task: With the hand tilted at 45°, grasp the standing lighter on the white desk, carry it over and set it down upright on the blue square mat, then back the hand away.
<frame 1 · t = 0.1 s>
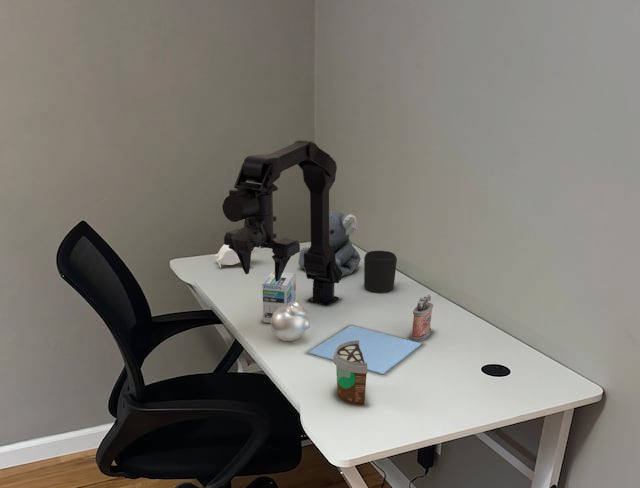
hand: (262, 277, 169), 15 cm above the table, tool pointing down, fingers open, 9 cm apart
blue square mat: (365, 348, 168), on the table
light bulb box: (279, 317, 186), on the table
silver rounded lump: (290, 340, 172), on the table
koala plush: (333, 270, 222), on the table
lighter: (420, 336, 176), on the table
pen holder: (378, 288, 207), on the table
white turtle figurine: (238, 264, 225), on the table
food container: (346, 395, 147), on the table
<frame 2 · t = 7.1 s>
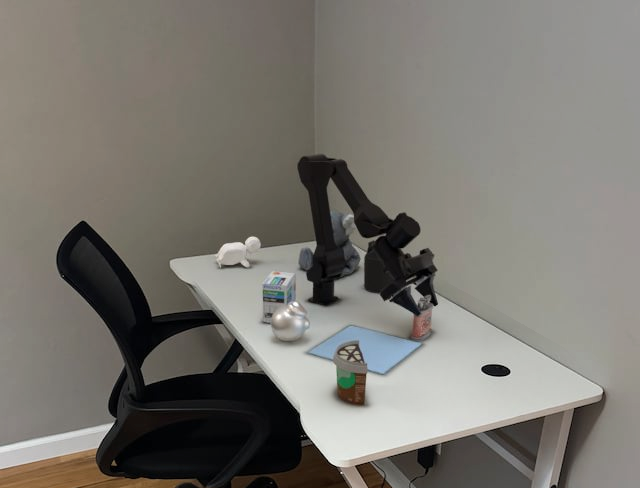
hand: (428, 310, 172), 7 cm above the table, tool tilted 45°, fingers closed on lighter, 8 cm apart
lighter: (420, 336, 176), on the table, touching gripper
everything else where it was.
when the fingers open (7 cm above the table, at t = 14.3 s): lighter stays where it is, resting on blue square mat.
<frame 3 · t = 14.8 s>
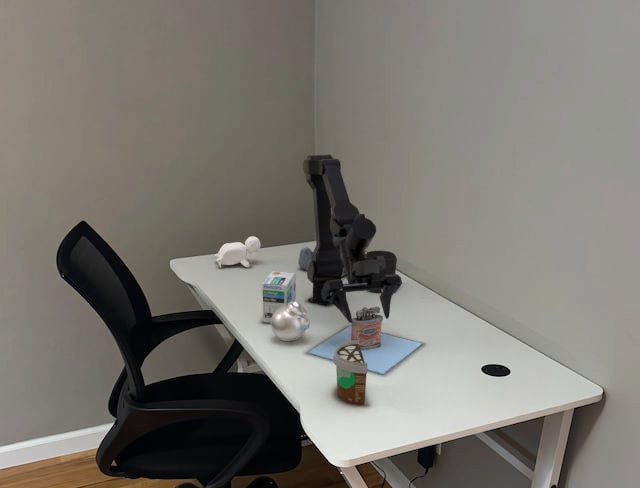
hand: (369, 320, 163), 8 cm above the table, tool tilted 45°, fingers open, 9 cm apart
lighter: (365, 347, 168), resting on blue square mat
everything else where it was.
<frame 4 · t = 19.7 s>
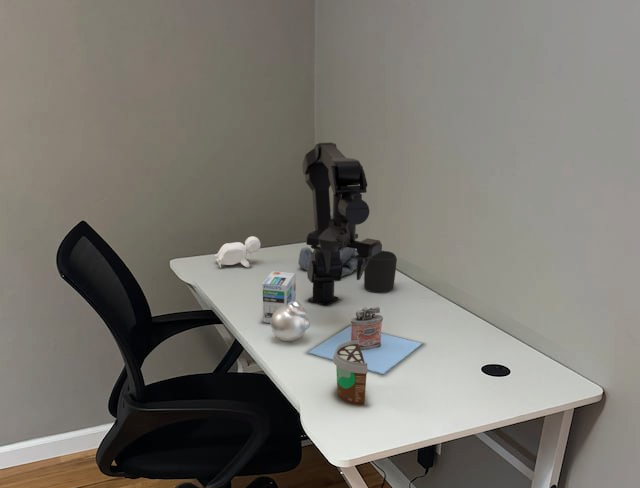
hand: (342, 276, 176), 13 cm above the table, tool pointing down, fingers open, 9 cm apart
nothing on the table moved.
at the end: lighter inside the target area on the blue square mat (0.3 cm from its centre), point 0.1 cm above the blue square mat's base; lighter tilted 0°; lighter touching blue square mat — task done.
